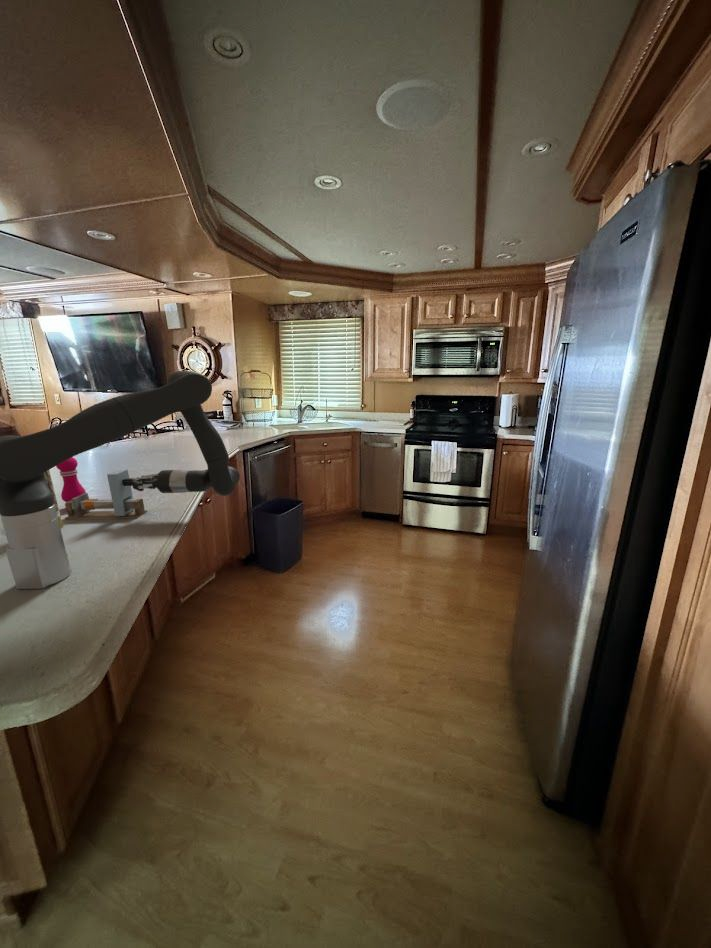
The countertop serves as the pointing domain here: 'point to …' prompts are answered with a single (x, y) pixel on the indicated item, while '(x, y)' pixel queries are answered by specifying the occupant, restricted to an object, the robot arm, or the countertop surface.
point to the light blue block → (119, 491)
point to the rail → (106, 513)
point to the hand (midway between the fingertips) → (124, 482)
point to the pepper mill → (70, 480)
